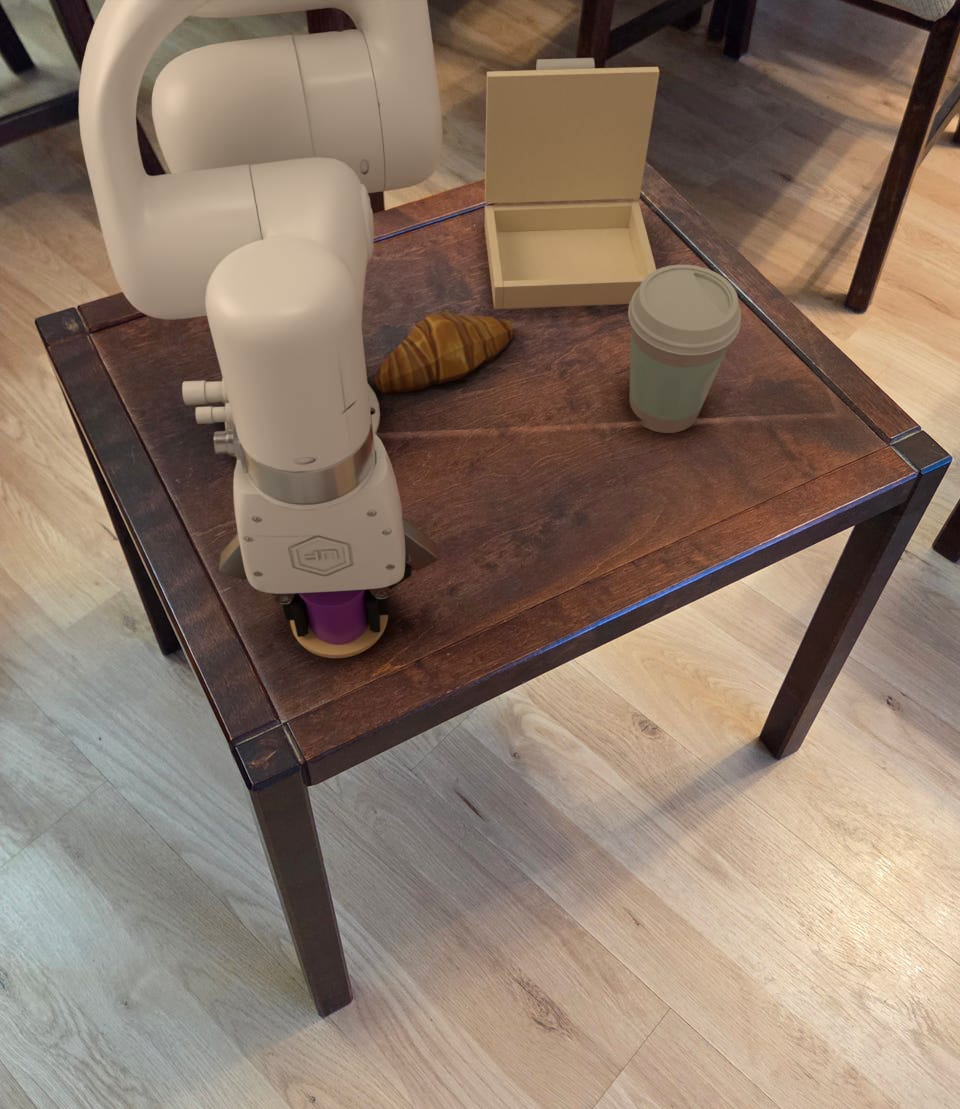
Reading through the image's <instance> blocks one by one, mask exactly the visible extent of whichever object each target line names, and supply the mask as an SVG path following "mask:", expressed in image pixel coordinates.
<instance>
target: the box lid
mask: <svg viewBox="0 0 960 1109" xmlns="http://www.w3.org/2000/svg"><path fill="white" fill-rule="evenodd" d="M535 63H536V64H535V69H531V70H530V69H527V70H496V71H494V70H493V71H492V70H491V71H486V95H485V96H486V97H485V99H486V100H485V102H486V103H485V104H486V105H485V149H484V150H485V152H484V153H485V158H484V159H485V160H484V203H485V204H486V205H487V204H510V203H511V204H513V203H515V204H517V203H541V202H542V203H544V202H546V203H547V202H572V201H573V202H574V201H575V202H576V201H599V200H600V201H602V200H603V201H604V200H631V199H632V200H633V199H640V198H641V192H642V187H643V186H642V185H643V181H644V173H645V166H646V160H647V156H648V155H647V154H648V148H649V142H650V135H651V130H652V129H651V128H652V122H653V116H654V115H653V114H654V110H655V103H656V98H657V92H658V91H657V90H658V85H659V79H660V69H659V66H639V67H637V66H633V67H601V68H600V67H599V68H596V63H595V58H594V57H575V58H574V57H573V58H545V59H544V58H543V59H542V58H541V59H540V58H539V59H536V62H535Z"/></svg>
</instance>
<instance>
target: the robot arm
mask: <svg viewBox="0 0 960 1109" xmlns="http://www.w3.org/2000/svg"><path fill="white" fill-rule="evenodd" d="M323 9H338V10H340V11H343V13H345V14H347V16H348V17H349V18H350V19H351V20H352V21H353V23H354V26H355V28H354V29H353V28H352V29H343V30H334V31H333V30H332V31H326V32H325V31H324V32H317V33H308V34H299V35H292V34H285V35H277V36H267V37H258V38H249V39H241V40H240V39H239V40H232V41H231V40H230V41H225V42H219V43H214V44H207V45H204V46H201V47H198V48H194V49H191V50H189V51H186V52H184V53H182V54H180V55H179V56H176V57H175V58H173V59H172V60H171V61H169V62H168V63H167V64H166V65H165V66H164V67H163V68H162V70H161V71H160V72H159V74H158V75H157V77H156V79H155V82H154V85H153V89H152V94H151V116H152V122H153V126H154V130H155V135H156V138H157V143H158V145H159V147H160V151H161V153H162V156H163V159H164V160H165V163H166V166H167V167H168V170H169V172H170V173H164V174H158V175H149V174H147V172H146V170H145V167H144V164H143V160H142V155H141V150H140V144H139V140H138V139H139V138H138V137H139V136H138V129H137V128H138V127H137V105H138V96H139V92H140V86H141V83H142V81H143V80H142V79H143V76H144V74H145V71H146V69H147V67H148V64H149V62H150V61H151V59H152V57H153V55H154V54H155V52H156V50H157V49H158V48H159V47H160V44H161V43H162V42H163V41H164V40H165V39H166V38H167V36H168V35H170V33H172V31H173V30H174V29H175V28H177V27H178V26H179V25H180V24H181V23H182V22H183V21H184V20H185V19H186V18H188V17H190V16H192V17H196V18H206V19H207V18H209V19H222V18H223V19H224V18H241V17H254V16H264V15H273V14H284V13H293V12H303V11H313V10H323ZM430 20H431V19H430V12H429V6H428V0H105V1H104V3H103V5H102V7H101V9H100V11H99V13H98V15H97V16H96V18H95V21H94V24H93V27H92V29H91V33H90V35H89V38H88V41H87V43H86V47H85V51H84V56H83V59H82V63H81V71H80V78H79V86H78V121H79V134H80V141H81V145H82V151H83V157H84V161H85V166H86V169H87V173H88V178H89V182H90V187H91V190H92V195H93V200H94V204H95V208H96V211H97V217H98V220H99V224H100V229H101V233H102V237H103V241H104V245H105V249H106V252H107V257H108V260H109V262H110V266H111V268H112V271H113V274H114V277H115V280H116V282H117V284H118V286H119V288H120V290H121V292H122V293H123V295H124V297H125V298H126V300H127V301H128V302H129V303H130V304H131V306H132V307H134V308H135V309H136V310H137V311H138V312H140V313H142V314H144V315H145V316H148V317H151V318H154V319H159V320H185V319H192V318H199V317H207V322H208V327H209V330H210V335H211V338H212V342H213V345H214V349H215V354H216V358H217V361H218V364H219V369H220V372H221V377H222V378H221V380H220V381H219V380H218V381H216V380H215V381H207V380H206V379H205V380H204V379H203V380H184V381H183V382H182V386H181V391H182V393H181V394H182V400H183V403H184V405H185V406H196V407H195V410H194V411H195V413H194V414H195V420H196V421H195V422H196V424H197V425H205V424H215V423H224V428H225V429H224V430H217V431H214V433H213V444H214V445H213V447H214V452H215V455H217V456H218V455H229V457H234V458H236V463H235V467H234V471H233V485H232V491H233V494H232V495H233V508H234V517H235V524H236V530H237V533H236V535H234V536H233V538H232V539H231V540H230V542H229V543H228V544H227V545H226V546H225V547H224V548H223V550H222V551H221V552H220V553H219V563H218V571H219V572H220V573H221V574H224V575H226V576H229V577H233V578H236V579H238V580H242V581H244V580H247V581H248V583H249V585H250V586H251V587H252V588H254V589H255V590H256V591H259V592H261V593H267V594H271V595H272V596H274V602H275V603H276V604H278V605H282V609H283V613H284V617H285V620H286V621H290V620H294V623H295V627H296V631H297V635H298V637H303V636H306V634H308V625H309V622H308V617H307V613H306V609H305V605H304V600H303V599H302V598H301V597H300V595H299V594H298V593H311V592H331V591H348V590H363V589H366V605H367V612H368V620H369V627H370V631H373V633H375V632H380V615H388V616H389V615H390V597H391V591H392V589H393V588H395V587H397V586H398V585H400V584H401V583H402V582H404V581H406V580H407V579H408V578H409V579H410V577H411V576H412V575H413V572H414V571H416V572H417V571H420V570H422V569H423V568H425V567H428V566H430V565H432V564H434V563H436V562H437V560H438V551H437V543H436V542H435V541H434V540H433V539H432V538H431V537H429V536H428V535H426V533H424V532H422V531H421V530H420V529H419V528H417V527H416V526H415V525H413V524H412V523H411V522H409V521H408V520H407V519H405V518H404V514H403V507H402V502H401V497H400V492H399V486H398V483H397V478H396V474H395V472H394V468H393V465H392V462H391V459H390V457H389V455H388V452H387V449H386V448H385V446H384V444H383V442H382V440H381V439H380V437H379V436H378V434H379V432H378V429H379V426H380V422H381V411H380V410H381V409H380V403H379V400H378V398H377V395H376V393H375V391H374V389H373V388H372V387H371V385H370V384H369V383H368V376H367V375H368V374H367V365H366V356H365V354H366V353H365V347H364V337H363V327H362V326H363V310H364V309H363V308H364V295H365V284H366V276H367V268H368V263H369V262H371V260H372V258H373V255H374V248H375V245H374V238H375V221H374V213H373V208H372V205H371V198H370V195H369V194H374V193H379V192H380V193H381V192H390V191H396V190H402V189H406V188H410V187H414V186H416V185H419V184H421V183H424V182H425V181H427V180H428V179H430V177H431V176H432V175H433V174H434V173H435V171H436V170H437V168H438V165H439V163H440V160H441V158H442V150H443V131H444V130H443V114H442V104H441V98H440V96H441V95H440V90H439V80H438V74H437V66H436V58H435V51H434V43H433V35H432V28H431V21H430ZM214 403H223V405H224V406H213V405H212V406H200V405H209V404H214ZM197 405H199V406H197ZM371 412H373V414H371Z"/></svg>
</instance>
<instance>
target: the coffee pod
mask: <svg viewBox="0 0 960 1109" xmlns="http://www.w3.org/2000/svg"><path fill="white" fill-rule="evenodd" d="M298 594H299V595H300V597H301V598H302V599H303V600H304V605H305V609H306V613H307V617H308V622H309V626H310V629H311V631H312V633H313V634H314V635H315V636H316V637H317V638H318V639H320V640H321V641H323V642H326V643H329V644H335V645H340V644H346V643H350V642H352V641H354V640H356V639H358V638H359V637H360V636H362V634H363V633H364V632H365V631H366V630H367V628H368V626H369V620H368V612H367V605H366V589H363V590H348V591H331V592H311V593H298Z"/></svg>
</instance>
